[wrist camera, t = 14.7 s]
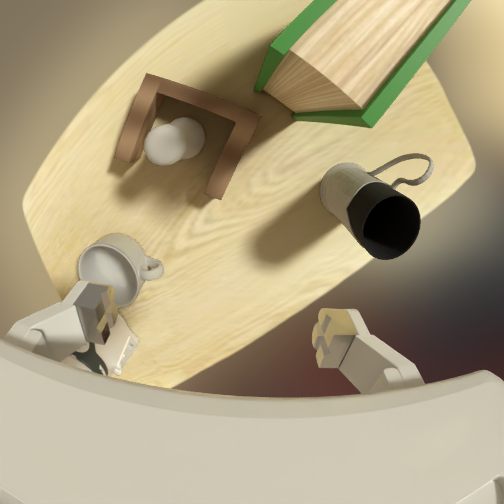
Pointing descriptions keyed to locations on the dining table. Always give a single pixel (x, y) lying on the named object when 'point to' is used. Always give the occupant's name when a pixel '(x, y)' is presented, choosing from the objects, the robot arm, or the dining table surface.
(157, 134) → the salt shaker
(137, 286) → the teacup
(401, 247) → the tall mug
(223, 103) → the walnut holder
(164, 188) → the dining table surface
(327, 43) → the hardback book
